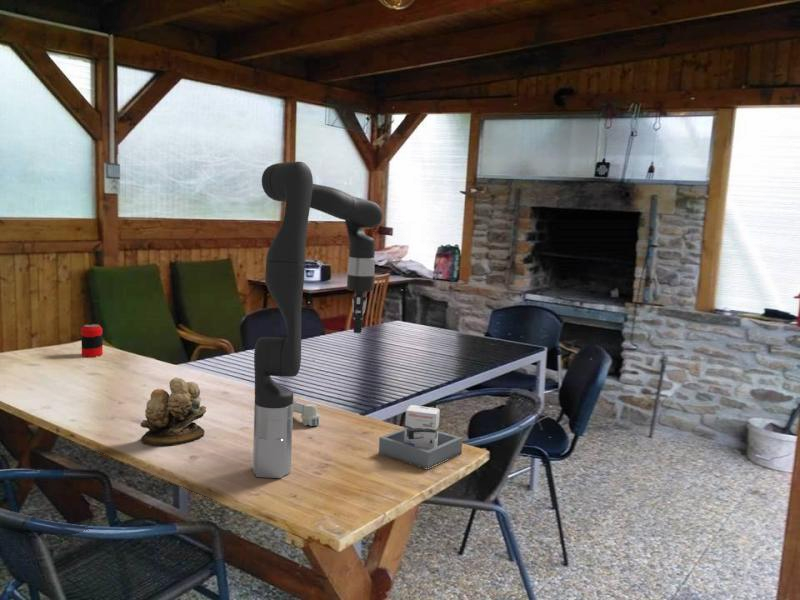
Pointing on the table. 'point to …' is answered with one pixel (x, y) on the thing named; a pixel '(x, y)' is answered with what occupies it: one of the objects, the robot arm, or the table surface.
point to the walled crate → (399, 450)
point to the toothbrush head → (307, 413)
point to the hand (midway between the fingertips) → (358, 330)
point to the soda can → (92, 340)
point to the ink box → (421, 427)
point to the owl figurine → (173, 415)
